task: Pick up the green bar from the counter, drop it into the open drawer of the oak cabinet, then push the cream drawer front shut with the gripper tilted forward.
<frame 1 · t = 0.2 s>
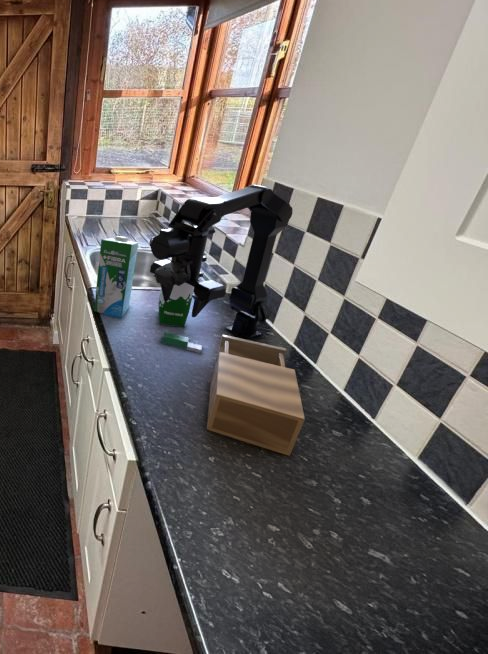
hand: (179, 308, 104), 14 cm above the table, tool pointing down, fingers open, 9 cm apart
drawer: (250, 369, 96), point 5 cm above the table, slide at 9.0 cm
milk carton: (111, 309, 133), on the table
cabinet: (245, 416, 89), on the table
soya milk: (170, 320, 126), on the table
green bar: (181, 345, 113), on the table
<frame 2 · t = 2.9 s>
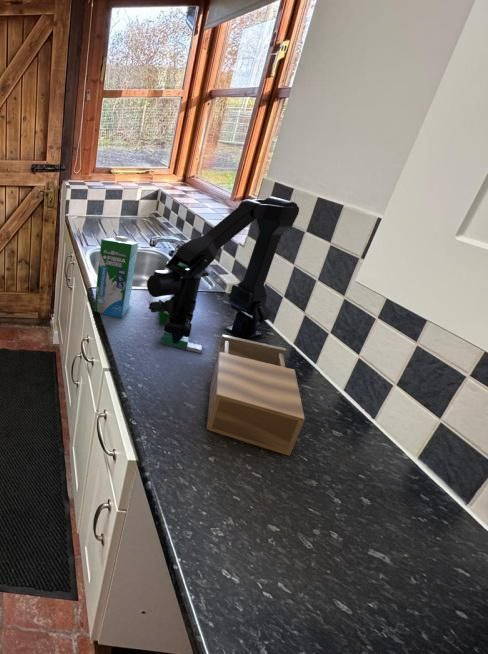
hand: (175, 340, 114), 1 cm above the table, tool pointing down, fingers closed on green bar, 2 cm apart
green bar: (181, 345, 113), on the table, touching gripper
everything else where it was.
when the fingers open (6 cm above the table, at t = 7.1 s): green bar drops 2 cm, resting on drawer.
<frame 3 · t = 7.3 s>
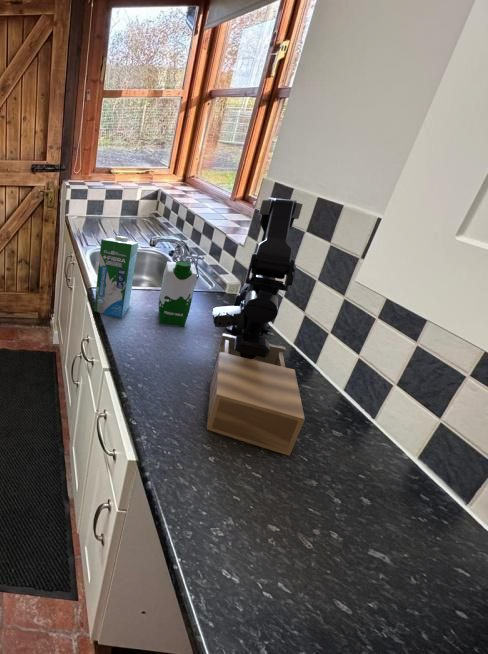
hand: (242, 359, 98), 6 cm above the table, tool pointing down, fingers open, 4 cm apart
drawer: (249, 368, 96), point 5 cm above the table, slide at 9.6 cm, touching gripper, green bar
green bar: (246, 372, 99), point 2 cm above the table, touching drawer
everything else where it was.
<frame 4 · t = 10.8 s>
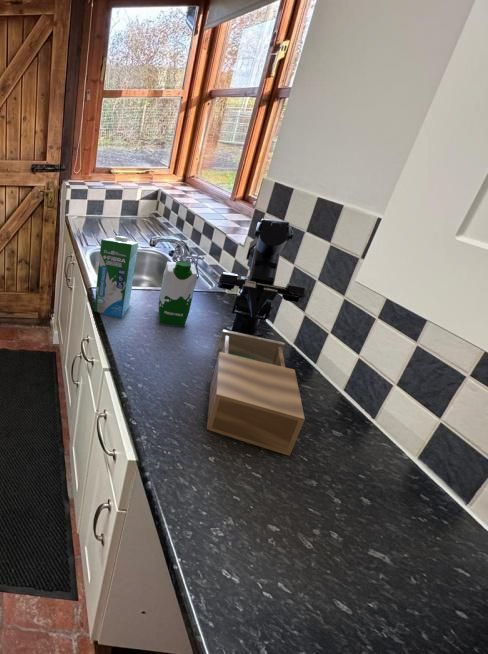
hand: (253, 317, 103), 12 cm above the table, tool tilted 45°, fingers closed
drawer: (249, 363, 98), point 5 cm above the table, slide at 11.7 cm, touching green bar
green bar: (246, 367, 101), point 2 cm above the table, touching drawer
everything else where it was.
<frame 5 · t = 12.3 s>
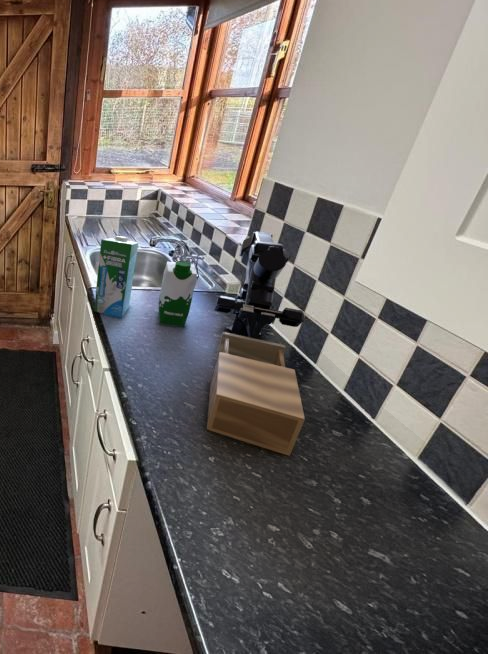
hand: (251, 342, 102), 7 cm above the table, tool tilted 45°, fingers closed, pressing on drawer
drawer: (249, 366, 97), point 5 cm above the table, slide at 10.4 cm, touching gripper, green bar
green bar: (246, 369, 100), point 2 cm above the table, touching drawer
everything else where it was.
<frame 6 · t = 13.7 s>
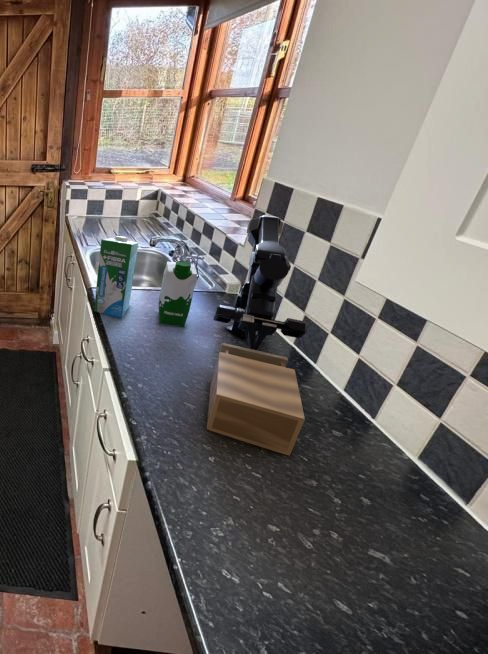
hand: (252, 354, 97), 7 cm above the table, tool tilted 45°, fingers closed, pressing on drawer
drawer: (250, 379, 93), point 5 cm above the table, slide at 4.9 cm, touching gripper, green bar
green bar: (246, 383, 96), point 2 cm above the table, touching drawer
everything else where it was.
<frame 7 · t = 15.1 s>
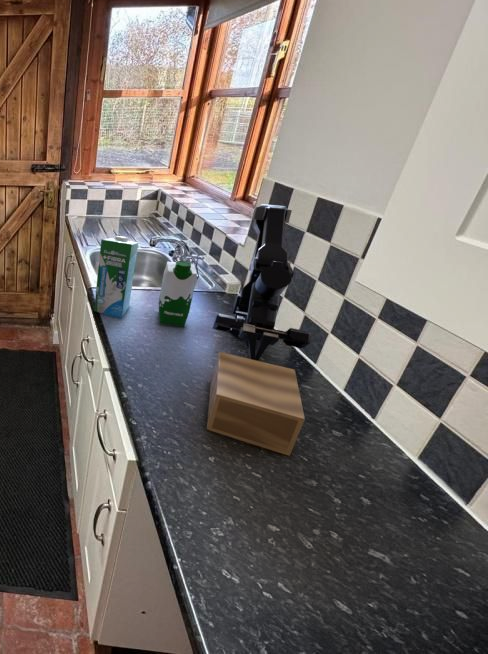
hand: (253, 365, 93), 7 cm above the table, tool tilted 45°, fingers closed, pressing on drawer
drawer: (251, 392, 89), point 5 cm above the table, slide at 0.0 cm, touching cabinet, gripper, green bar
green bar: (247, 395, 92), point 2 cm above the table, touching drawer
everything else where it was.
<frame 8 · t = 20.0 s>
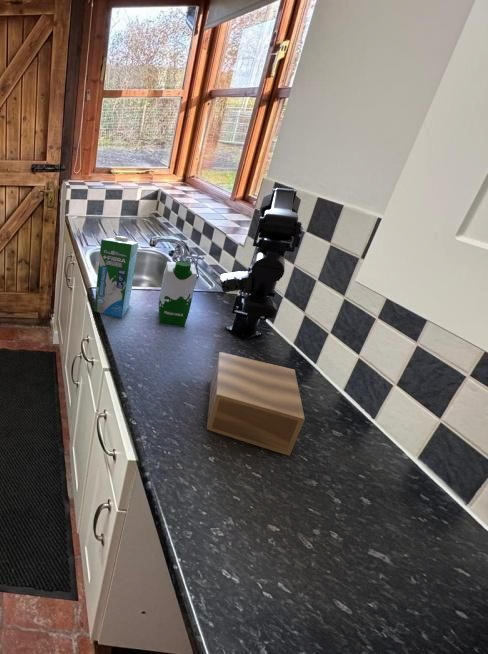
hand: (249, 324, 101), 12 cm above the table, tool pointing down, fingers closed
drawer: (251, 392, 89), point 5 cm above the table, slide at 0.0 cm, touching cabinet, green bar
everything else where it was.
at the end: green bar inside the target area in the cabinet (4.9 cm from its centre), point 2.0 cm above the cabinet's base; drawer slide at 0.0 cm; the gripper is holding nothing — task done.
